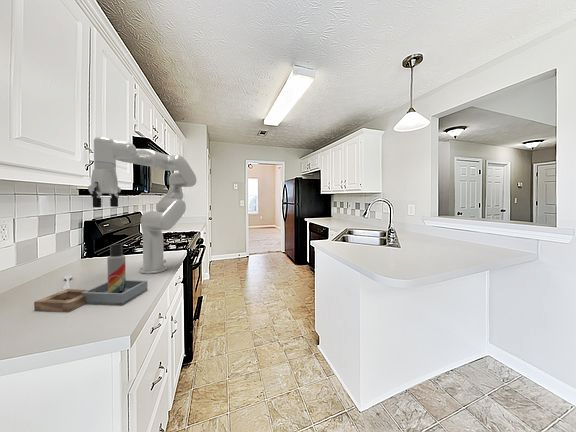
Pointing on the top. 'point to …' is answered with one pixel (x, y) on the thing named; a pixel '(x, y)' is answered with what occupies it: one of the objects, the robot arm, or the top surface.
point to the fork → (67, 282)
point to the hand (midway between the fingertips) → (106, 207)
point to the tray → (105, 298)
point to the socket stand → (62, 301)
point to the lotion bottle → (116, 270)
